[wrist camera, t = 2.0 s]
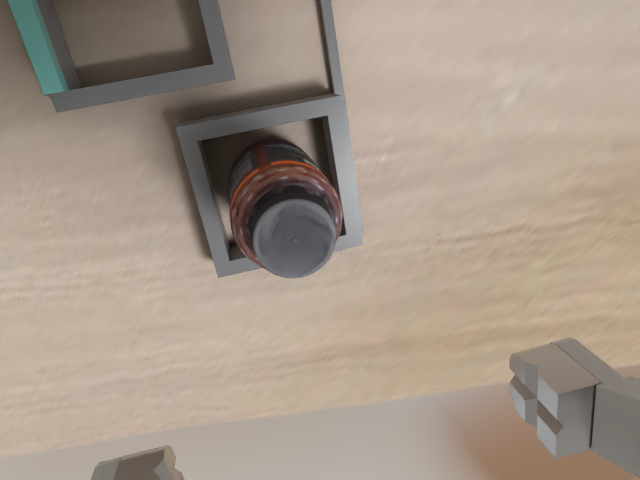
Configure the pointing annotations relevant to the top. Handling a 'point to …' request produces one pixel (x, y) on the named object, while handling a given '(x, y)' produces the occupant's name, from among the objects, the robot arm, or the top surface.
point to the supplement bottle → (283, 209)
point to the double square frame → (67, 94)
